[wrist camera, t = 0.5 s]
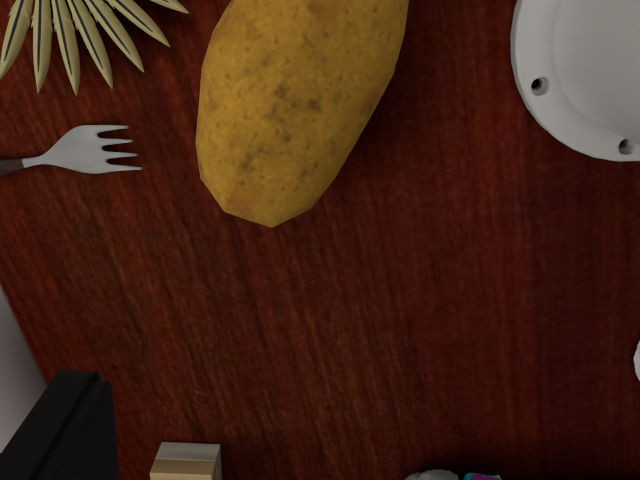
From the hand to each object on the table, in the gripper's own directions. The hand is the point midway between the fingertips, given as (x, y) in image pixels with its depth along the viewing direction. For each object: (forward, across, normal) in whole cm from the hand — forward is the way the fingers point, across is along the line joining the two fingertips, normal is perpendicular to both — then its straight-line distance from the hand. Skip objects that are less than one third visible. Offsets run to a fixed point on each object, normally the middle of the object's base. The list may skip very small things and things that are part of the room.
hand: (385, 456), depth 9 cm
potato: (+22, +2, -3) cm, 22 cm away
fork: (+22, +18, +2) cm, 29 cm away
